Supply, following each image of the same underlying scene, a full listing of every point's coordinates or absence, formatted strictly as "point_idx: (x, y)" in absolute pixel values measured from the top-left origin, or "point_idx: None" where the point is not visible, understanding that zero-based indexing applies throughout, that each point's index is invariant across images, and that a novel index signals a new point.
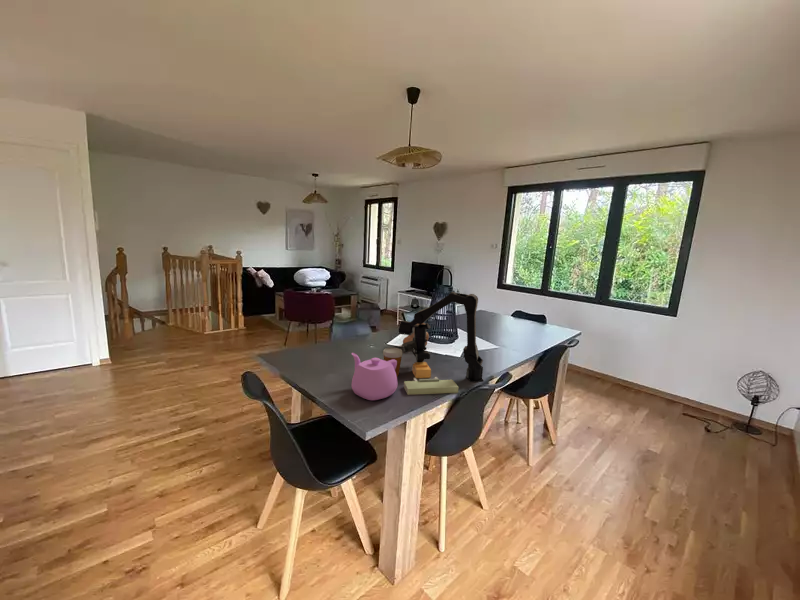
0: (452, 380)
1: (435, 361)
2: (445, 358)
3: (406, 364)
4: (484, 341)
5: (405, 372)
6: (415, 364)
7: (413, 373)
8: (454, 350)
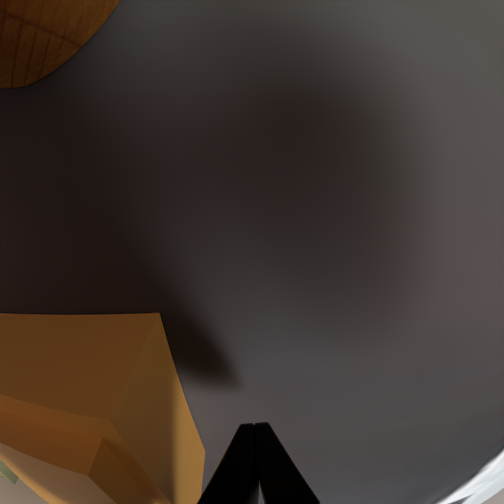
0: (6, 479)
1: (432, 470)
2: (444, 486)
3: (479, 250)
4: (490, 496)
5: (119, 190)
6: (14, 439)
7: (84, 317)
8: (494, 475)
